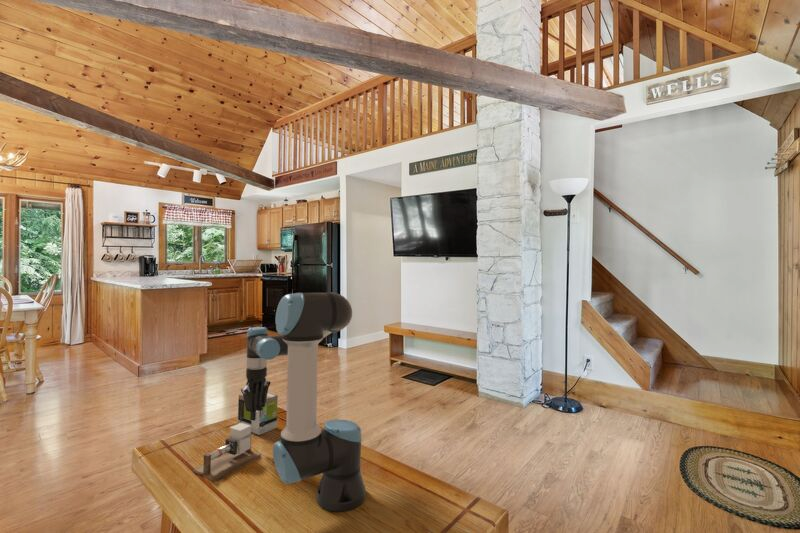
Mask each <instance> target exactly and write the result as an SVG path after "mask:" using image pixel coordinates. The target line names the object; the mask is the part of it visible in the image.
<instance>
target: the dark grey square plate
mask: <svg viewBox="0 0 800 533" xmlns="http://www.w3.org/2000/svg"><path fill="white" fill-rule="evenodd" d="M224 441H225V445H224V446H226V445H228V444H229V442H230V443H233V451H232V450H231V451H229V452H227V453H230V454H232V455H235V454H237V441H236V440H232V439H230V437H228V438H225V440H224Z"/></svg>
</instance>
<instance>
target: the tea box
mask: <svg viewBox="0 0 800 533" xmlns="http://www.w3.org/2000/svg"><path fill="white" fill-rule="evenodd" d="M278 401H279V400H278V395H277V394H275V393H271V392H268V393H267V398H266V403H265V407H262V408H263V410H262V411H261V416H260V418H259V428H257V429H255V428H252V427H251V433H253V434H255V435H258V436H260V435H263V434H266V433H268V432H270V431H273V430H275V429H277V427H278ZM237 404H238V405H237V406H238V407H237V409H238V410H237V411H238V412H237V424H239V423H243V424H247V425H250V426H251V419H250V414H251V412H248V411H246V408H245V402H244V397H243V393H239V394H238V403H237Z"/></svg>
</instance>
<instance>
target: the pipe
mask: <svg viewBox="0 0 800 533" xmlns="http://www.w3.org/2000/svg"><path fill="white" fill-rule="evenodd" d="M237 447H238V441H237ZM231 450H233V443H230V444H228V445H226V446H225V445H224V446H221V447H220V448H215V449H214V450H213V451H211V452H209V453H208V454H210V455H211V460H213V459H215V458H218V457H220V456H221V455H223V454H225V453H227V452H229V451H231Z"/></svg>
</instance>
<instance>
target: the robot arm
mask: <svg viewBox="0 0 800 533" xmlns="http://www.w3.org/2000/svg"><path fill="white" fill-rule="evenodd" d="M352 317H353V309H352V305H351V304H350V301H349V300H348V299H347V298H346V297H344V296H343V295H342V294H339V293H337V292H331V291H330V292H329V291H327V292H295V293H288V294H287V293H286V294H285V295H284V296H282V297H281V299H280V301H279V303H278V305H277V308H276V312H275V319H274V320H275V325H276V326H275V329H276V332H277V334H279V335H272V336H271V335H270V336H269V332H268V330H269V329H268V328H267V327H266V326H264V327H263V326H253V327H249V328H248V329H247V332H246V366H245V367H247V368H245V369H246V370H245V371H246V372H245V377H246V380H247V381H246V384H245V386H244V387H243V388H241V389H240V391H241V392H240V393H241V394H243V397H244V402H245V408H246V411H248V412H251V414H250V419H251V427H252V428H255V429H257V428H259V418H260V416H261V411H262V410H263V408H262V407H265V403H266V398H267V393H269V387H270V385H271V381H270V380H267V378H266V377H267V375H268V368H267V366H268V361H271V360H273V359H275V358H277V357H279V356H287V368H286V369H287V374H286V375H287V377H286V380H287V381H286V420H285V421H286V424H285V427H284V428H283V429H282V430H281V431H280V440H278V441H276V442H274V443H273V446H272V456H273V457H272V458H273V462H274V467H275V469H276V471H277V475H278V477H279V479H280V480H281V481H282V482H283V483H284V484H293V483H296V482H301V481H302V480H306V479H308V478H312V477H314V476H318V475H321V474H322V475H321V478H320V481H319V484H318V487H317V489H316V502H317V504H318V505H319V506H320V507H321V508H322V509H324V510H326V511H329V512H334V513H338V512H340V513H341V512H347V511H352V510H353V509H356V508H357V507H359V506H360V505H362V504H363V502H364V501H365V498H366V486H365V484H364V479H363V476H362V473H361V462H362V460H361V456H362V455H361V453H362V440H363V439H362V430H361V427H360V425H358V423H356V422H354V421H351V420H347V419H337V418H335V419H330V420H328V421H326V422H325V423H324V425H323V429H322V428H321V427H320V426H319V425H318V424H317V410H318V408H317V405H318V404H317V403H318V402H317V401H318V358H319V357H318V356H319V354H318V352H319V351H318V350H319V343H320V342H322V341H323V340H324V338H326V337H327V336H329V335H330V334H332V333H337V332H341V331H342V330H344V329H345V328H346V327H347V326H348V325H349V324H350V323H351V320H352Z"/></svg>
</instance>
